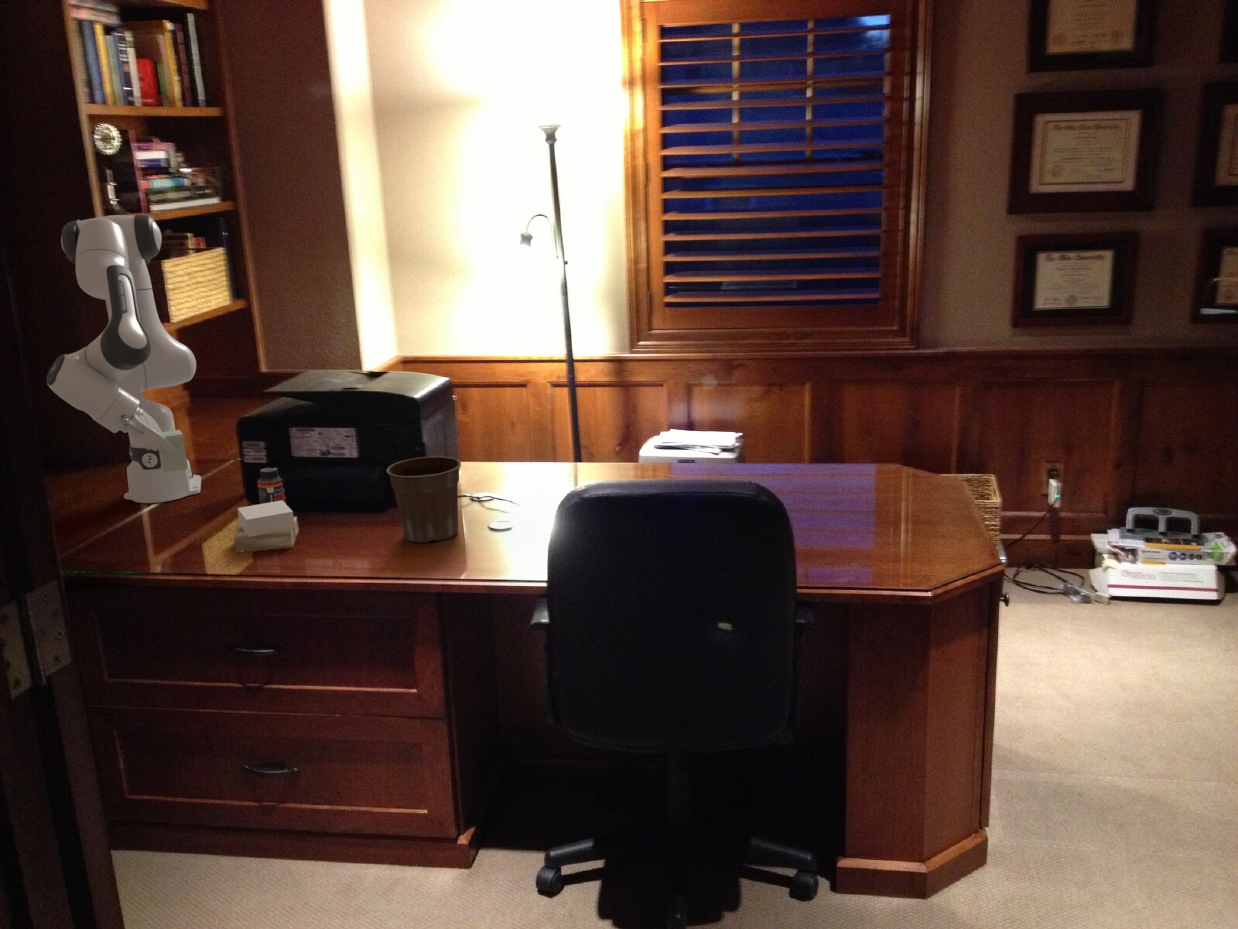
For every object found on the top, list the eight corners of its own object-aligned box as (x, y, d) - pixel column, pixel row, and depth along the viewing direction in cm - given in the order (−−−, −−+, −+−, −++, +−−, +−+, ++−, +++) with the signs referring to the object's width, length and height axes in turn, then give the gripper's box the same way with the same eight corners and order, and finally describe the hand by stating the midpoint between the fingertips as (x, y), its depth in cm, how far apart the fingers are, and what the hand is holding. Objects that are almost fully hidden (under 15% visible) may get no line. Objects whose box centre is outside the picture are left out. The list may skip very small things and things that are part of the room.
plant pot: (379, 543, 245) (371, 473, 241) (417, 520, 260) (411, 453, 255) (443, 550, 239) (437, 478, 235) (479, 526, 254) (473, 458, 249)
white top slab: (239, 524, 251) (237, 508, 250) (284, 516, 255) (282, 500, 254) (248, 537, 242) (246, 519, 241) (294, 528, 247) (292, 511, 246)
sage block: (161, 467, 249) (156, 433, 247) (185, 463, 252) (179, 429, 249) (164, 472, 245) (158, 437, 243) (188, 468, 247) (182, 434, 245)
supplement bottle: (279, 518, 265) (273, 473, 262) (257, 517, 266) (250, 472, 263) (291, 510, 271) (285, 466, 268) (269, 509, 272) (263, 465, 269)
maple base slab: (245, 537, 255) (243, 521, 254) (299, 532, 256) (296, 516, 255) (236, 555, 243) (234, 538, 242) (292, 550, 245) (290, 533, 244)
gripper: (134, 409, 232) (190, 447, 239) (125, 393, 249) (178, 428, 256) (114, 433, 231) (171, 470, 238) (107, 415, 249) (160, 450, 256)
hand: (174, 448), depth 247 cm, fingers closed on sage block, 5 cm apart
